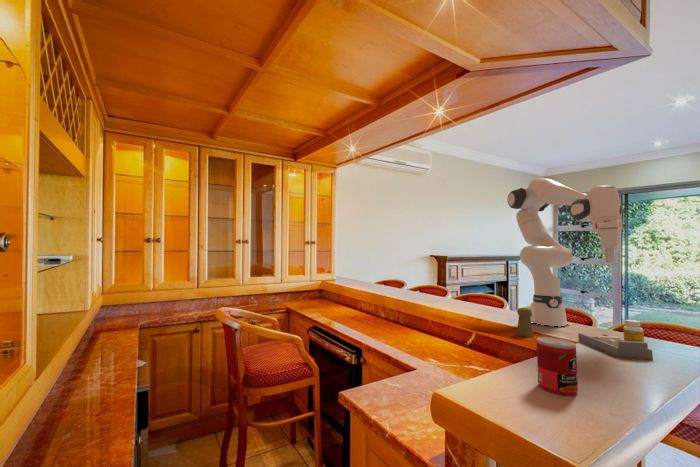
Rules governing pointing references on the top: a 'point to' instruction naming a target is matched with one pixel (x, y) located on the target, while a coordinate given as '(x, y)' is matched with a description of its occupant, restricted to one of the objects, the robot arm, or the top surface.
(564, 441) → the top surface
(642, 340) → the supplement bottle
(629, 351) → the pusher lane
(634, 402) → the top surface
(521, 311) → the cork
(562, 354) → the canned food
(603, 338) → the pale grey block
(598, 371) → the top surface
